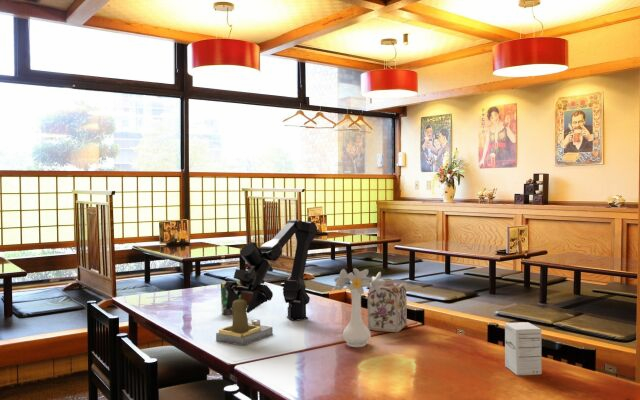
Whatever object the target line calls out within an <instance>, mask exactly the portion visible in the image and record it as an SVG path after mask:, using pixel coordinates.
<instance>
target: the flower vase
mask: <svg viewBox="0 0 640 400" xmlns="http://www.w3.org/2000/svg"><path fill="white" fill-rule="evenodd" d="M352 270H353V272H349V273H348V272H347V270H346V269H345V268H342V269H341V270H340V272H339V276H338V277H335V278H334V279H333V280H334V281H333V282H334V285H335V286H334V287H333V288H332V290H331V291H334V290H335V289H337V290H338V291H342V290H343V289H345V287H346V288H348V290H349V291H350V295H351V316H350V320H349V322H348V324H347V325H346V326H345V327H344V329H343V332H342V338H343V340H344V341H345V342H347V346H349V347H351V348H363V347H366V346H367V342H368V341H370V339H371V338H372V333H371V330H369V329H368V325H366V324H365V322H364V320H363V316H362V315H363V313H362V295H363V294H365V293H364V292H365V290H364V287H367V288H369V289H370V288H371V291H372V292H373V291H374V289H375V290H376V292H377V293H378V294H380V288H379V286H382V285H384V284H385V281H384V280H381V279H380V278H381V276H382V272H381V271H379V272H378V273H377V274H376V276H372V277H369V276H368V274H369V269H368V268H366V269H364V270H363V269H362V270H361V271H360V270H359V269H357V268H356V267H354V268H353V269H352ZM371 285H372V286H371ZM377 285H378V286H377Z"/></svg>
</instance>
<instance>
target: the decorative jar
mask: <svg viewBox="0 0 640 400" xmlns="http://www.w3.org/2000/svg"><path fill="white" fill-rule="evenodd" d="M380 280H384V281H385V284H384V285H382V286H379V288H380V294H378V293H377V292H376V290H375V289H374V291H373V292H372V291H371V288H369V289H368V292H367V327H368V329H369V330H370V331H377V332H386V333H387V332H388V333H399V332H400V331H402V329H403V328H405V327H406V326H407V324H408V319H407V318H408V317H407V316H408V315H407V312H408V311H407V309H408V308H407V305H408V303H407V289H406V287H405V285H403V284H402V283H398V282H394V281H395V280H394V278H391V277H384V278H381V279H380ZM370 285H371V286H372V284H370ZM377 286H378V285H377Z"/></svg>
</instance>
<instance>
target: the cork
mask: <svg viewBox="0 0 640 400" xmlns="http://www.w3.org/2000/svg"><path fill="white" fill-rule="evenodd" d="M232 307H233V309H234V314H232V315H233V319H232V323H231V325H232V332H238V333H243V332H246V331H249V327H248V323H249V321H248V315H247V314H248V313H247V312H246V310H247V307H248V305H247V301H246V300H242V299H239V300H235V301H233V304H232Z"/></svg>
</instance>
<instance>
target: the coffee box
mask: <svg viewBox="0 0 640 400" xmlns="http://www.w3.org/2000/svg"><path fill="white" fill-rule="evenodd" d="M239 281H240V280H236V281H235V282H236V283H237V284H238V285H239V286H240V283H239ZM225 283H226V282H221V283H220V301H221V304H220V305H221V315H223V316H226V315H228V316H229V315H234V309H233V307H231V308H230V309H229V310H227V309H226V305H227V300H228V292H227V290H226V289H225V287H224V285H225ZM239 299H241V295H239ZM239 299H238V300H239Z"/></svg>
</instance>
